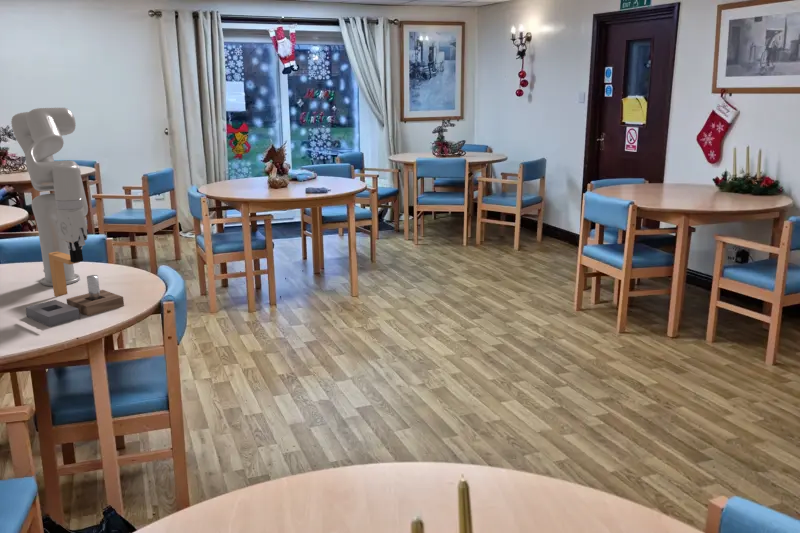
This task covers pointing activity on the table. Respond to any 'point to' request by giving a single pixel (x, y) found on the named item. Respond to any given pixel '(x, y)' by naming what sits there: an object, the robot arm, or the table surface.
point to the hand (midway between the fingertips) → (77, 261)
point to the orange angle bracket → (59, 272)
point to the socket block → (96, 303)
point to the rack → (52, 313)
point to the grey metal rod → (93, 287)
